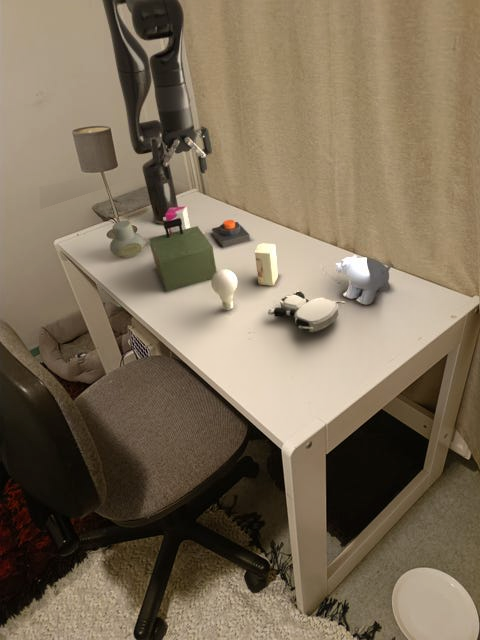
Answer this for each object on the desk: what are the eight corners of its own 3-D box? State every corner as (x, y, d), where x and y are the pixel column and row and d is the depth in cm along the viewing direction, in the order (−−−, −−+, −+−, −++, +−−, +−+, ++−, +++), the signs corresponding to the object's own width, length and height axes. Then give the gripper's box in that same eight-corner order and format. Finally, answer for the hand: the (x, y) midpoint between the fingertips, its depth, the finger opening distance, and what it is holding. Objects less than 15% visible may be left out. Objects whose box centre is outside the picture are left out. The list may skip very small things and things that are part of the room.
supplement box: (193, 238, 145) (186, 205, 138) (189, 247, 140) (183, 213, 133) (176, 239, 146) (169, 206, 139) (172, 248, 141) (164, 214, 134)
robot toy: (265, 322, 106) (316, 343, 96) (263, 307, 104) (314, 327, 94) (297, 299, 112) (347, 316, 103) (296, 283, 110) (347, 300, 100)
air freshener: (115, 263, 137) (106, 234, 131) (110, 252, 143) (101, 224, 137) (149, 253, 140) (141, 224, 134) (143, 243, 146) (135, 215, 140)
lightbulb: (222, 319, 108) (216, 281, 101) (211, 307, 112) (205, 270, 106) (245, 310, 110) (240, 272, 103) (233, 298, 114) (228, 261, 108)
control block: (212, 234, 146) (210, 223, 143) (237, 227, 148) (236, 216, 145) (223, 248, 137) (221, 236, 135) (250, 240, 139) (248, 229, 137)
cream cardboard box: (263, 274, 122) (260, 242, 116) (278, 276, 121) (276, 243, 115) (257, 285, 118) (254, 251, 112) (273, 286, 117) (270, 253, 111)
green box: (156, 269, 131) (149, 242, 126) (203, 256, 134) (198, 229, 129) (166, 291, 121) (159, 263, 115) (217, 276, 124) (212, 248, 119)
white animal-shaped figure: (350, 271, 119) (351, 239, 113) (400, 290, 109) (404, 256, 104) (324, 288, 113) (325, 256, 108) (375, 310, 104) (378, 275, 98)
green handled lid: (149, 241, 126) (144, 223, 123) (197, 228, 130) (194, 211, 126) (159, 263, 115) (155, 244, 112) (212, 248, 118) (209, 230, 115)
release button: (222, 226, 141) (221, 221, 140) (232, 223, 142) (232, 218, 141) (226, 230, 138) (225, 225, 137) (236, 227, 139) (236, 222, 138)
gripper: (199, 97, 104) (209, 166, 114) (140, 108, 101) (155, 178, 111) (208, 102, 98) (218, 174, 108) (146, 114, 95) (162, 187, 105)
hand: (186, 176), depth 109 cm, fingers open, 8 cm apart
